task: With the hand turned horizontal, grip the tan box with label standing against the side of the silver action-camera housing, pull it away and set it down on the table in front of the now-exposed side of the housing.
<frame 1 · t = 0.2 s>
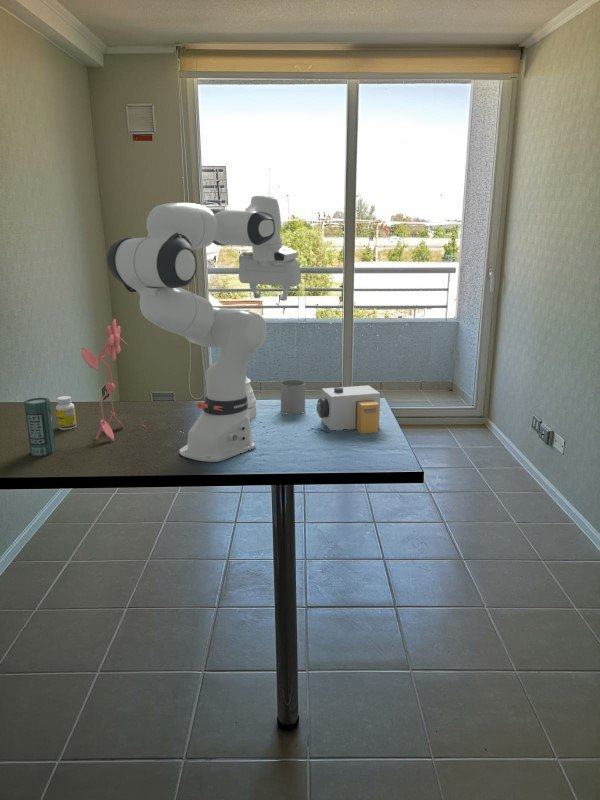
hand: (270, 299, 182), 39 cm above the table, tool pointing down, fingers open, 8 cm apart
honey pot: (237, 415, 200), on the table
cup: (292, 411, 204), on the table
supplement bottle: (67, 428, 187), on the table
figurine: (123, 435, 181), on the table
tan box with label: (367, 430, 184), on the table
can: (43, 452, 166), on the table
camera housing: (349, 424, 191), on the table
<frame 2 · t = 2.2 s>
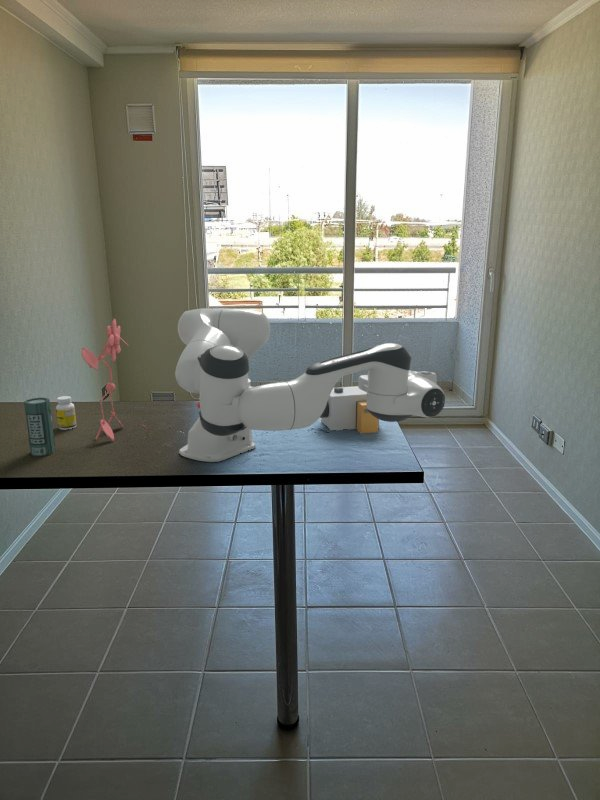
hand: (385, 375, 167), 20 cm above the table, tool horizontal, fingers open, 8 cm apart
nothing on the table moved.
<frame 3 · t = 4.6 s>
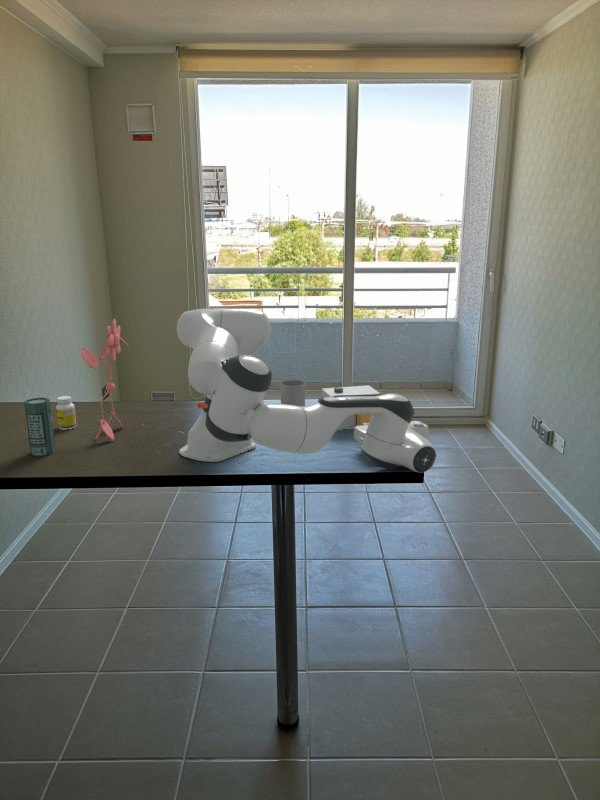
hand: (379, 423, 175), 5 cm above the table, tool horizontal, fingers open, 8 cm apart
nothing on the table moved.
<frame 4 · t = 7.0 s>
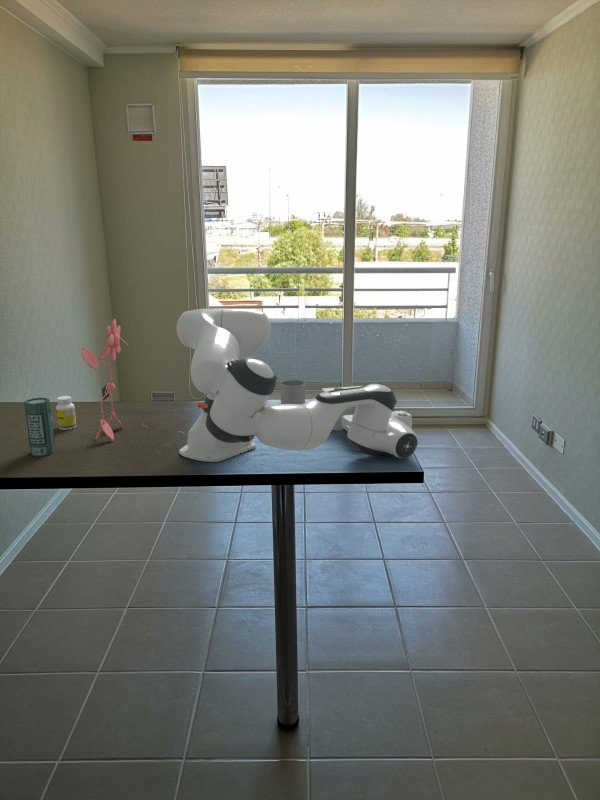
hand: (366, 413, 184), 5 cm above the table, tool horizontal, fingers closed on tan box with label, 5 cm apart
tan box with label: (367, 430, 184), on the table, touching gripper
everything else where it was.
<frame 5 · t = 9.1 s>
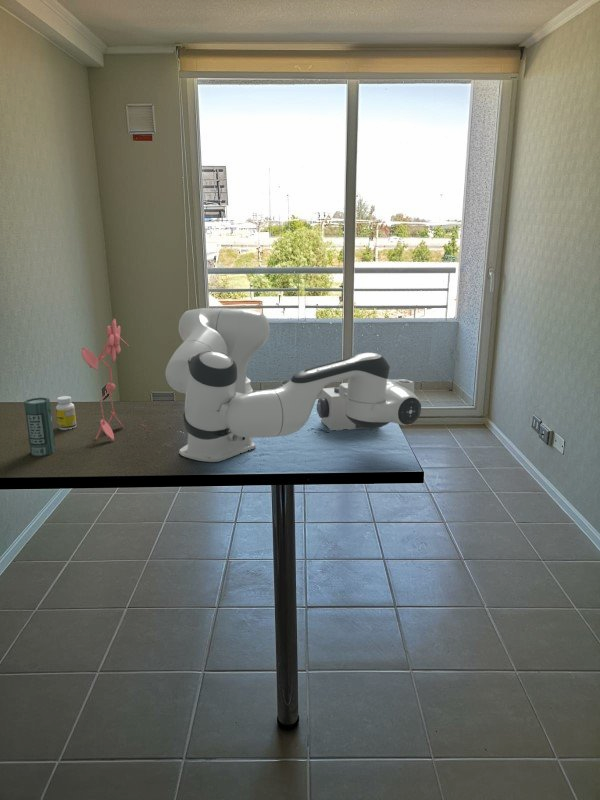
hand: (365, 383, 172), 17 cm above the table, tool horizontal, fingers closed on tan box with label, 5 cm apart
tan box with label: (366, 401, 173), point 12 cm above the table, touching gripper
everything else where it was.
when the fingers open (6 cm above the table, at t = 11.7 s): tan box with label drops 1 cm, on the table.
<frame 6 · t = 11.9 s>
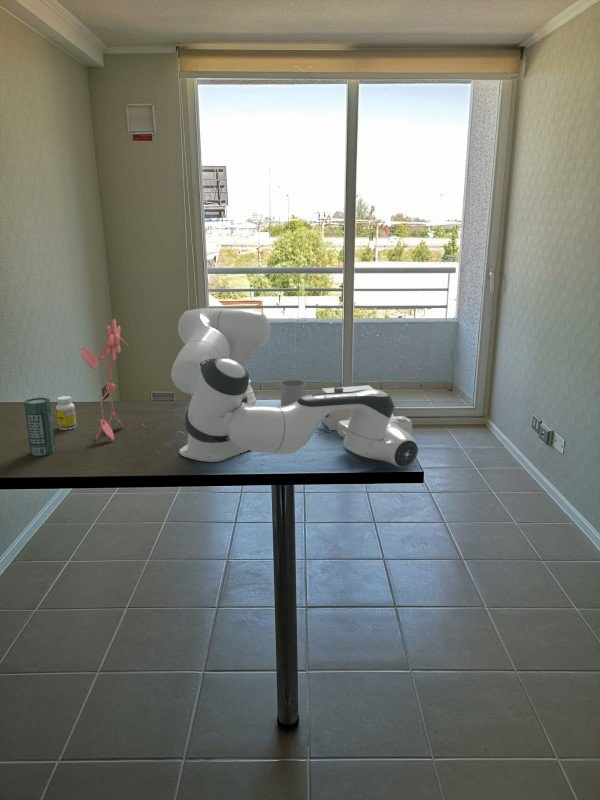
hand: (364, 418, 174), 6 cm above the table, tool horizontal, fingers open, 7 cm apart
tan box with label: (364, 440, 175), on the table
everything else where it was.
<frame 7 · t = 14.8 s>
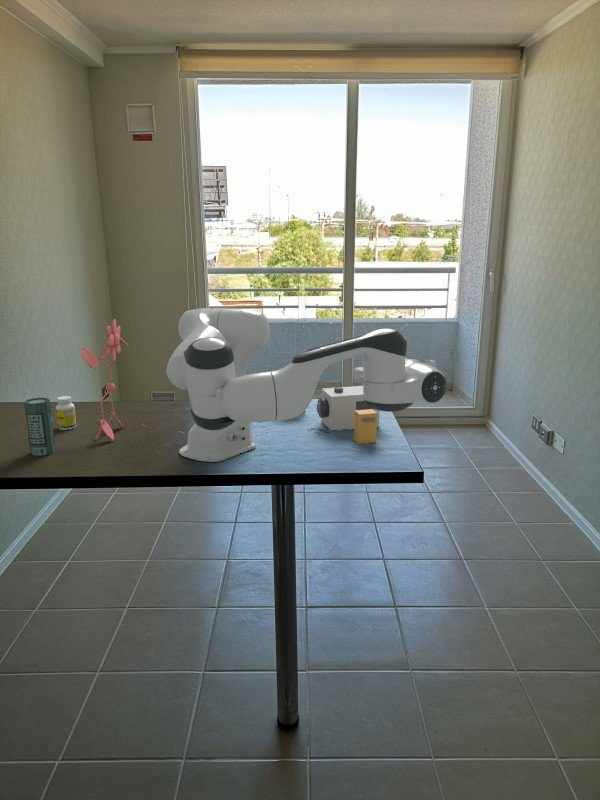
hand: (381, 368, 159), 24 cm above the table, tool horizontal, fingers open, 8 cm apart
nothing on the table moved.
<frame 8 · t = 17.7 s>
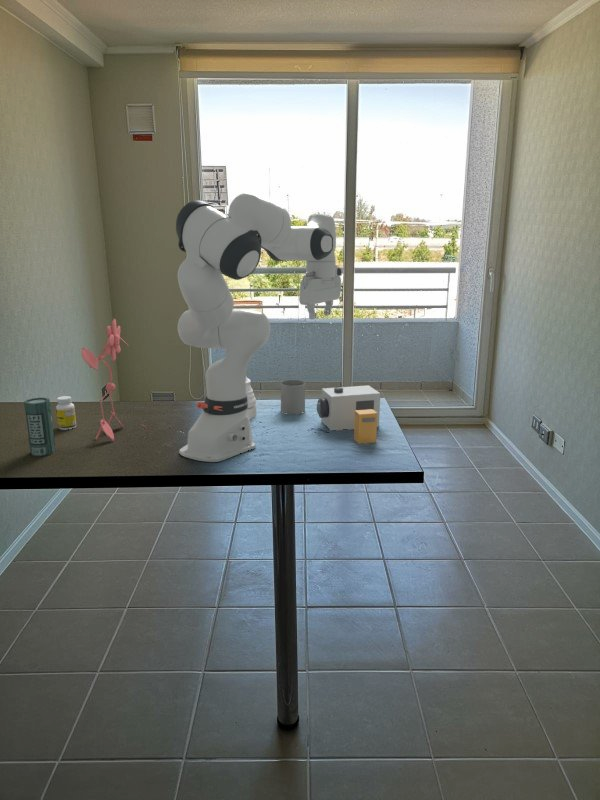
hand: (320, 317, 182), 34 cm above the table, tool pointing down, fingers open, 8 cm apart
nothing on the table moved.
at the end: tan box with label moved 9.3 cm from its start; tan box with label touching table; the gripper is holding nothing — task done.
